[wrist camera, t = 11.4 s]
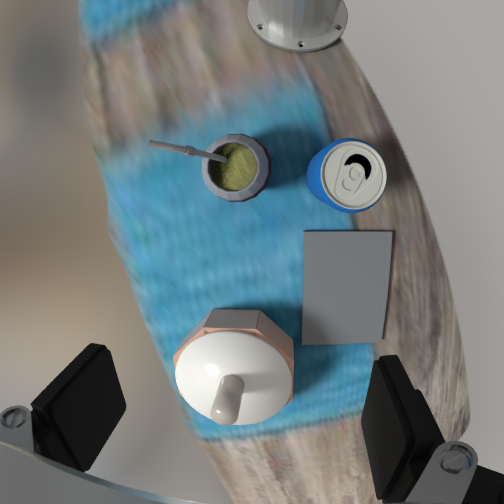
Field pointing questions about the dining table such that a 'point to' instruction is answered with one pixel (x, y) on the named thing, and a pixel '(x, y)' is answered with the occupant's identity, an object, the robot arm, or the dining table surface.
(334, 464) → the dining table surface
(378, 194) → the beverage can
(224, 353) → the lid
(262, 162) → the mate gourd
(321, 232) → the mat
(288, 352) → the octagonal ring frame
